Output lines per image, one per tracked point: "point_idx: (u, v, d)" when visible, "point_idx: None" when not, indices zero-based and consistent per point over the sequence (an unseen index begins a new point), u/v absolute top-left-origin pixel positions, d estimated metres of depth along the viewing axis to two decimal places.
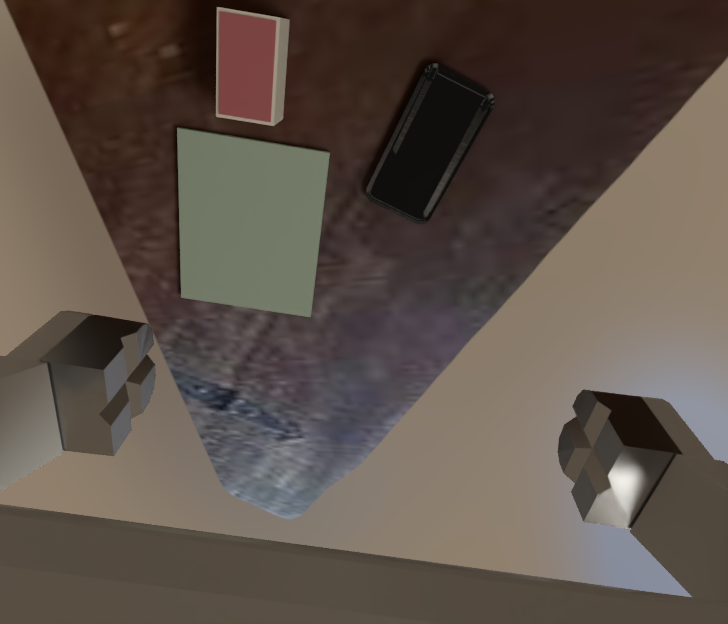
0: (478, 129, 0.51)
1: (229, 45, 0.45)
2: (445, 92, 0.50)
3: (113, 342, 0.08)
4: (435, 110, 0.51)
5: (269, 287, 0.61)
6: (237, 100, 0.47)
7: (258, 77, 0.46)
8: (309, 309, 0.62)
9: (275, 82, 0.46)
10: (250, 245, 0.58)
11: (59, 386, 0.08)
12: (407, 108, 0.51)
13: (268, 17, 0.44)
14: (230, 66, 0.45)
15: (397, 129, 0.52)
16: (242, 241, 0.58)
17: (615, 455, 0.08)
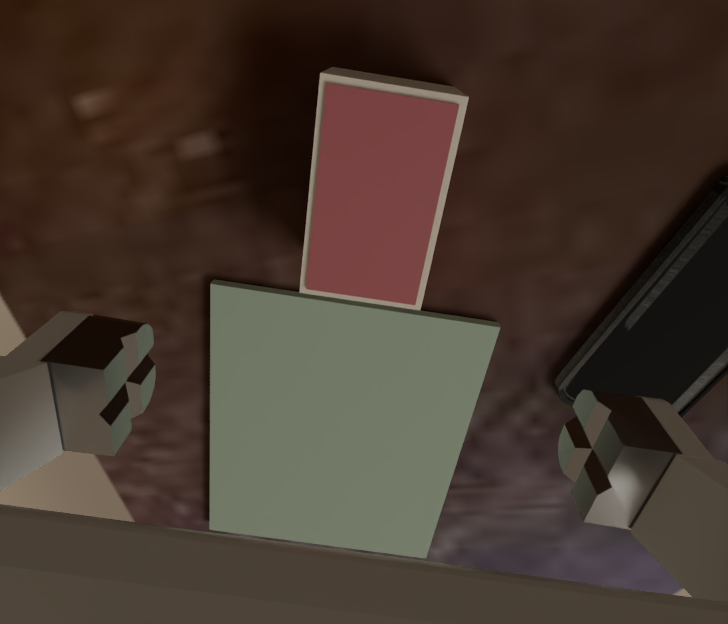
0: None
1: (342, 157, 0.20)
2: None
3: (113, 342, 0.08)
4: None
5: (361, 519, 0.36)
6: (349, 265, 0.22)
7: (401, 221, 0.21)
8: (425, 548, 0.37)
9: (436, 230, 0.21)
10: (334, 463, 0.33)
11: (59, 386, 0.08)
12: (673, 254, 0.25)
13: (440, 96, 0.18)
14: (340, 200, 0.20)
15: (642, 290, 0.26)
16: (320, 457, 0.33)
17: (615, 455, 0.08)
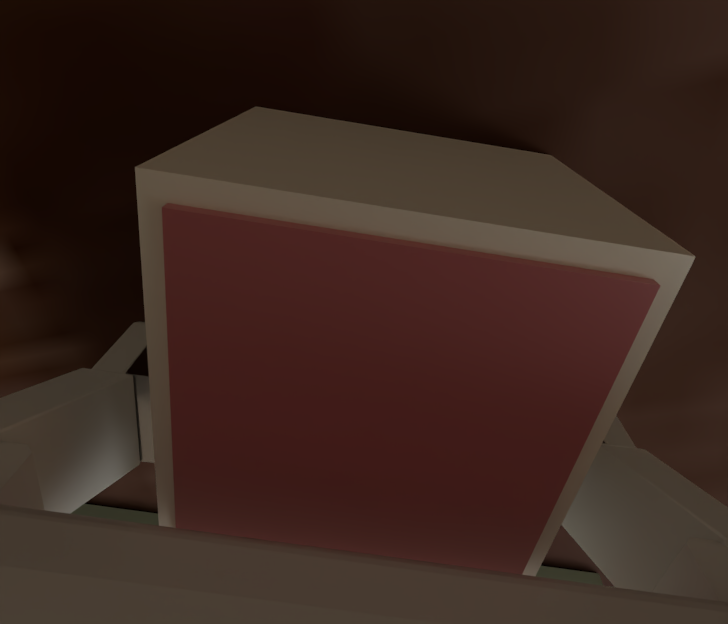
0: None
1: (245, 422, 0.06)
2: None
3: None
4: None
5: None
6: None
7: None
8: None
9: None
10: None
11: (142, 398, 0.08)
12: None
13: (589, 252, 0.05)
14: (251, 519, 0.07)
15: None
16: None
17: None
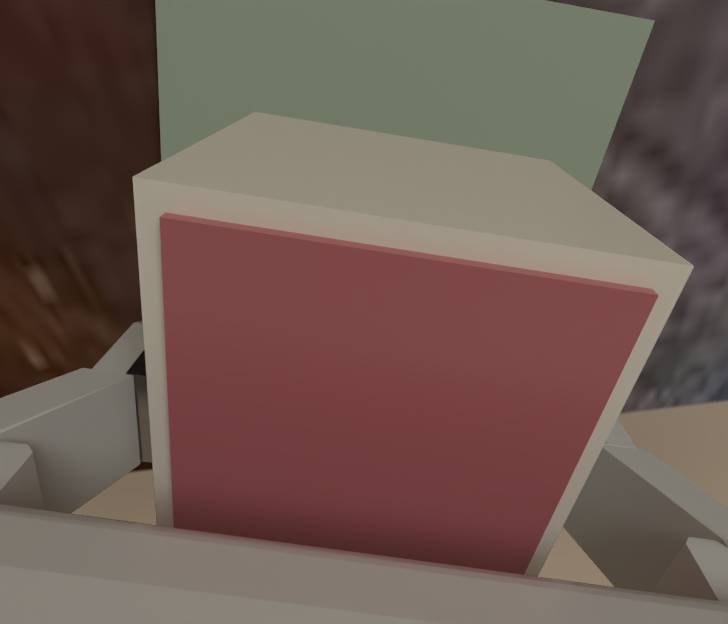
0: None
1: (243, 430, 0.06)
2: None
3: None
4: None
5: (535, 142, 0.23)
6: None
7: None
8: (627, 22, 0.20)
9: None
10: None
11: (143, 398, 0.08)
12: None
13: (586, 261, 0.05)
14: (248, 526, 0.07)
15: None
16: None
17: None
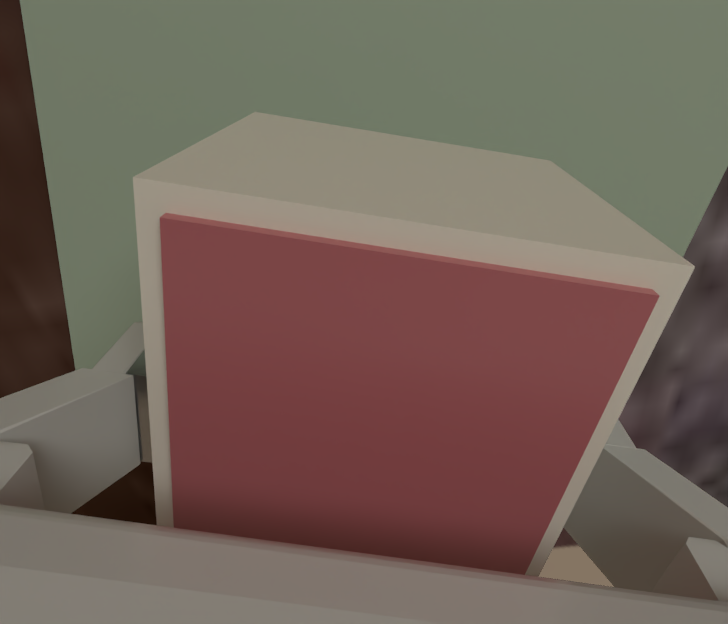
0: None
1: (243, 430, 0.06)
2: None
3: None
4: None
5: (602, 195, 0.15)
6: None
7: None
8: None
9: None
10: None
11: (143, 398, 0.08)
12: None
13: (586, 261, 0.05)
14: (249, 528, 0.07)
15: None
16: None
17: None
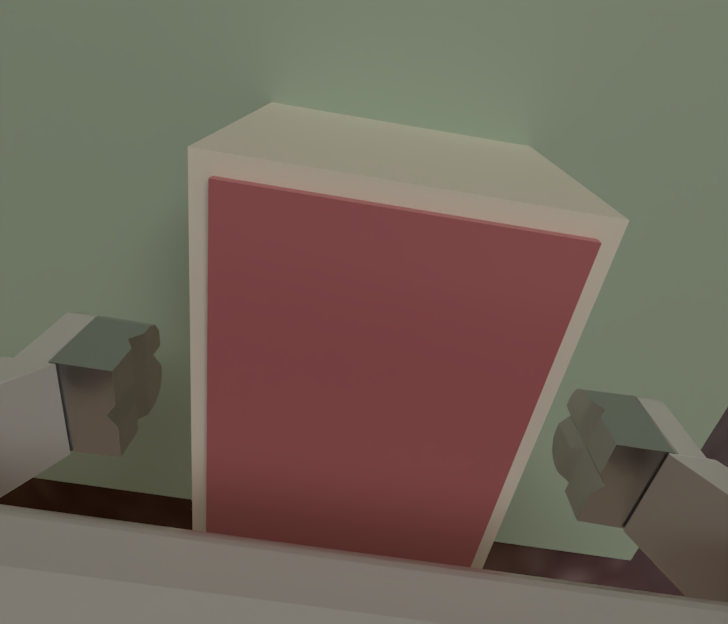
0: None
1: (268, 360, 0.07)
2: None
3: (121, 343, 0.08)
4: None
5: (681, 246, 0.12)
6: None
7: (420, 490, 0.08)
8: None
9: (503, 504, 0.09)
10: None
11: (67, 387, 0.08)
12: None
13: (544, 216, 0.06)
14: (270, 447, 0.08)
15: None
16: None
17: (608, 454, 0.08)
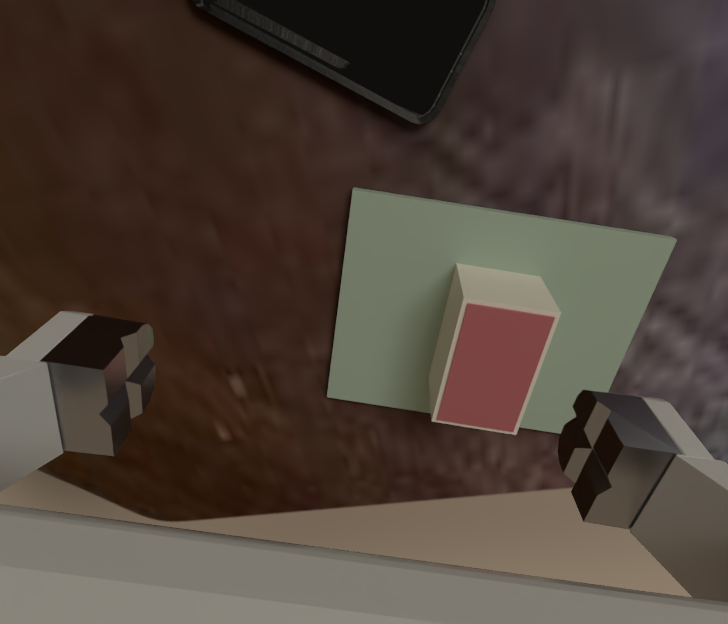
0: None
1: (473, 344, 0.29)
2: None
3: (113, 342, 0.08)
4: None
5: (594, 307, 0.33)
6: (469, 406, 0.31)
7: (508, 381, 0.30)
8: (658, 240, 0.31)
9: (532, 387, 0.31)
10: None
11: (59, 386, 0.08)
12: (266, 40, 0.27)
13: (542, 312, 0.28)
14: (468, 368, 0.30)
15: (305, 60, 0.28)
16: None
17: (615, 455, 0.08)
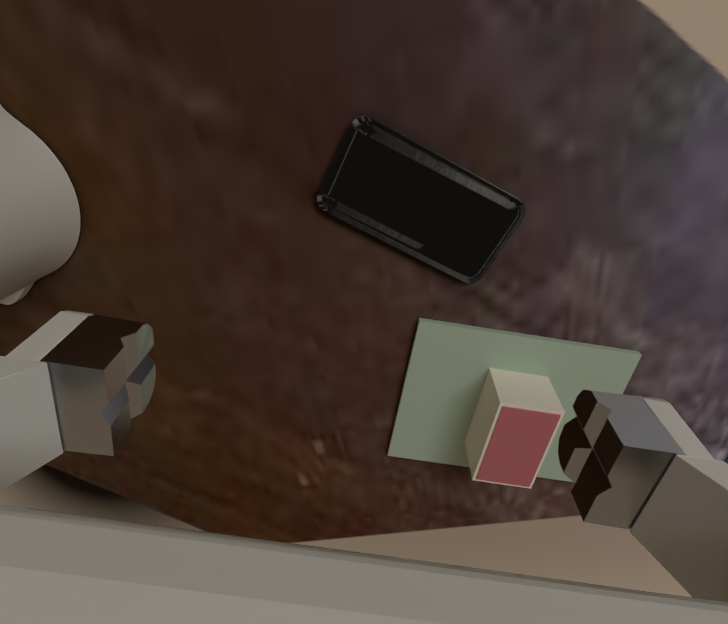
0: (398, 136, 0.37)
1: (504, 431, 0.43)
2: (350, 184, 0.38)
3: (113, 342, 0.08)
4: (372, 195, 0.39)
5: None
6: (499, 470, 0.45)
7: (527, 454, 0.44)
8: (629, 355, 0.45)
9: (543, 457, 0.44)
10: None
11: (59, 386, 0.08)
12: (368, 231, 0.40)
13: (552, 411, 0.42)
14: (500, 446, 0.43)
15: (393, 243, 0.41)
16: None
17: (615, 455, 0.08)
